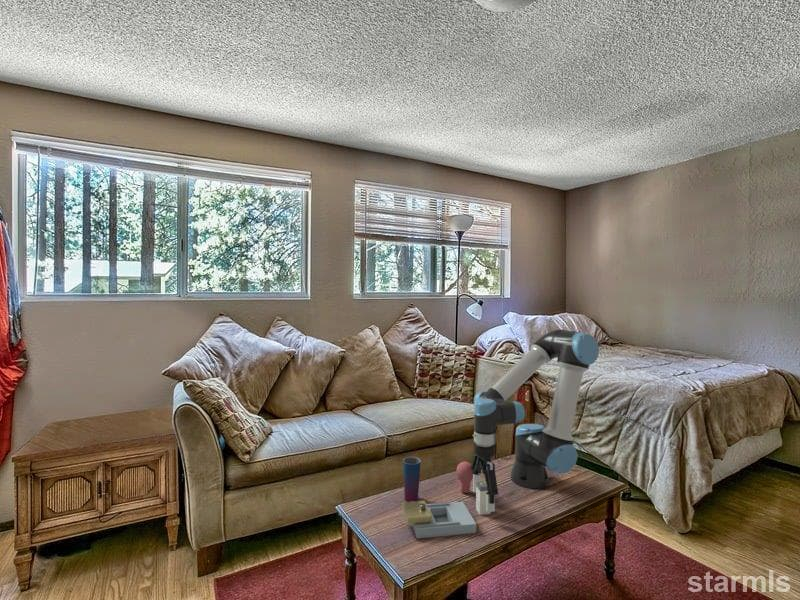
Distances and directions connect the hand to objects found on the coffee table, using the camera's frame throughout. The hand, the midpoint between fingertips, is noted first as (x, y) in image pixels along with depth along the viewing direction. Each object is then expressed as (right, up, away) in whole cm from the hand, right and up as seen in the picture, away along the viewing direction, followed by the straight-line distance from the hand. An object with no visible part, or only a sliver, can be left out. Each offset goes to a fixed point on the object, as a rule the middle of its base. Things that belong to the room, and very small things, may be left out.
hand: (483, 501), depth 149 cm
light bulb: (-4, -3, +14) cm, 15 cm away
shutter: (-25, -1, -9) cm, 26 cm away
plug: (0, -4, 0) cm, 4 cm away
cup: (-26, -3, +8) cm, 27 cm away
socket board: (-16, -4, -8) cm, 18 cm away
